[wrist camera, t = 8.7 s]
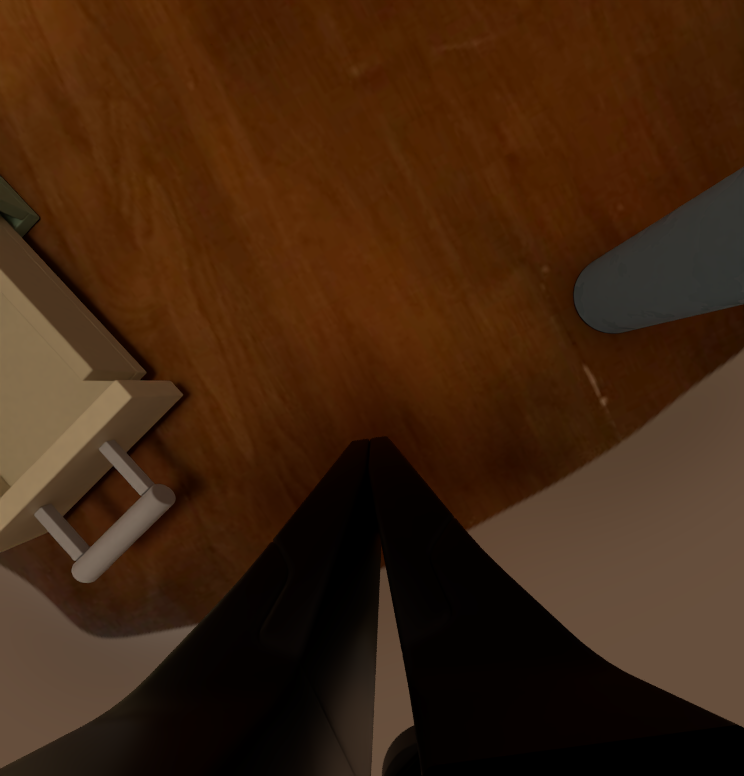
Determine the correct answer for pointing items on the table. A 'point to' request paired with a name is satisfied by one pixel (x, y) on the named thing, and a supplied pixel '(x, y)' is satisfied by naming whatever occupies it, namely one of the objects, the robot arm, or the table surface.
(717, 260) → the canister
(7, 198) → the cabinet
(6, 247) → the drawer
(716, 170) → the table surface
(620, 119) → the table surface
